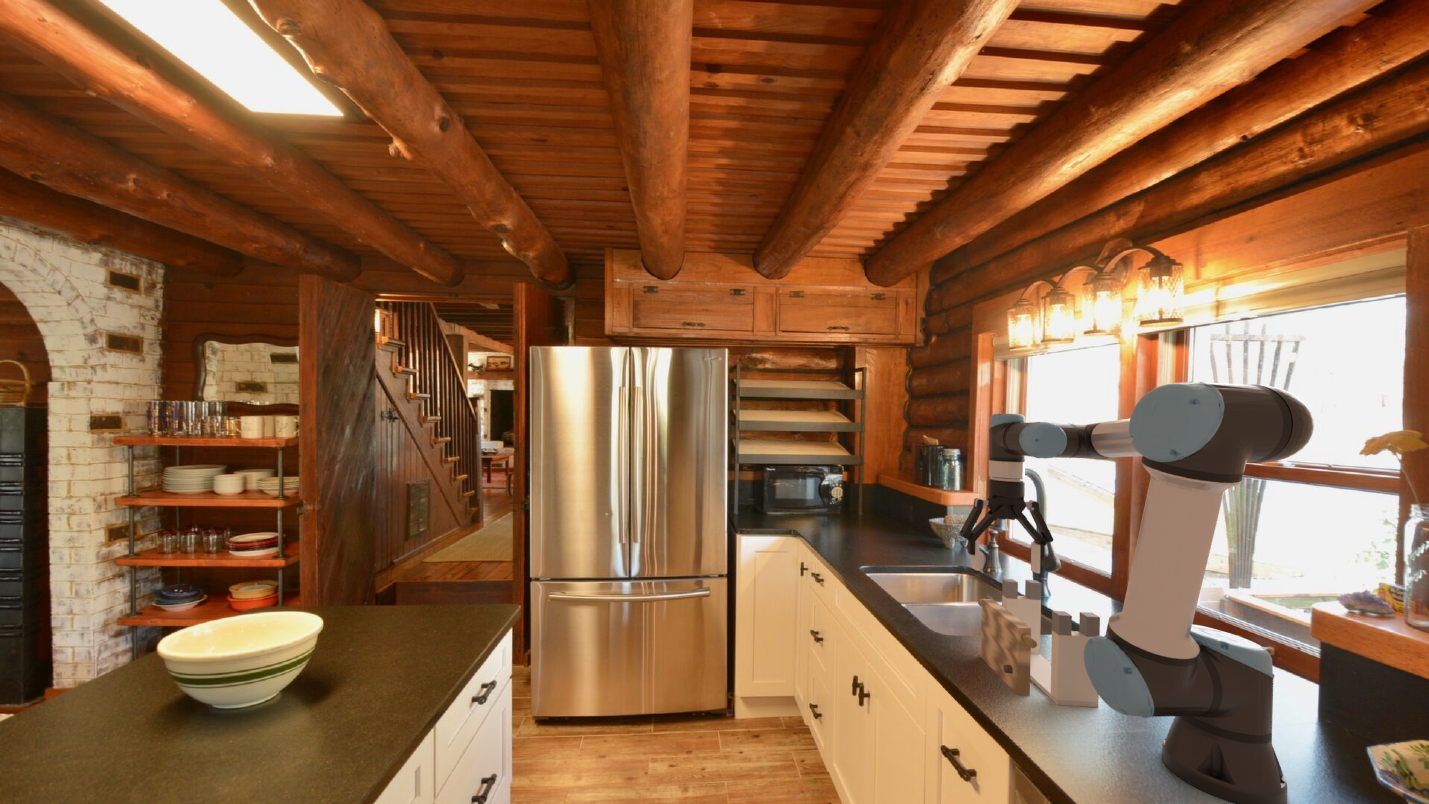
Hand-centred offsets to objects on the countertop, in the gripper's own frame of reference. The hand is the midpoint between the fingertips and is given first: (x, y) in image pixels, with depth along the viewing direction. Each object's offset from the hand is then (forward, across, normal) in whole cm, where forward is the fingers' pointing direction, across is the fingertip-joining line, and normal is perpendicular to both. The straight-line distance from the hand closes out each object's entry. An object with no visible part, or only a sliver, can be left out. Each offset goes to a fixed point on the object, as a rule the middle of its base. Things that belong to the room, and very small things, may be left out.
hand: (1005, 570), depth 130 cm
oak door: (+22, +2, +5) cm, 23 cm away
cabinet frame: (+22, -7, +4) cm, 23 cm away
